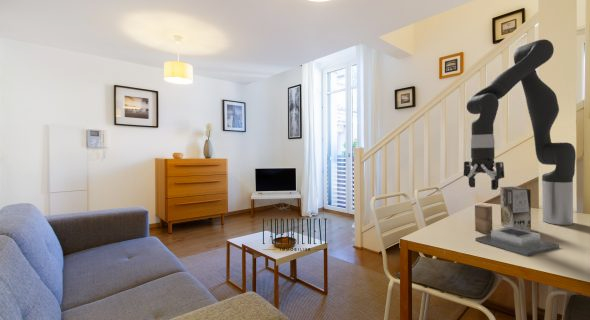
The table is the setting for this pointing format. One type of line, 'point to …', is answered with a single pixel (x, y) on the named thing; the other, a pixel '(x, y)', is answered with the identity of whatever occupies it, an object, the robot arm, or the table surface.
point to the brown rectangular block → (483, 218)
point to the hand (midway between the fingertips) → (482, 188)
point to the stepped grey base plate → (517, 241)
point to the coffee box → (516, 207)
